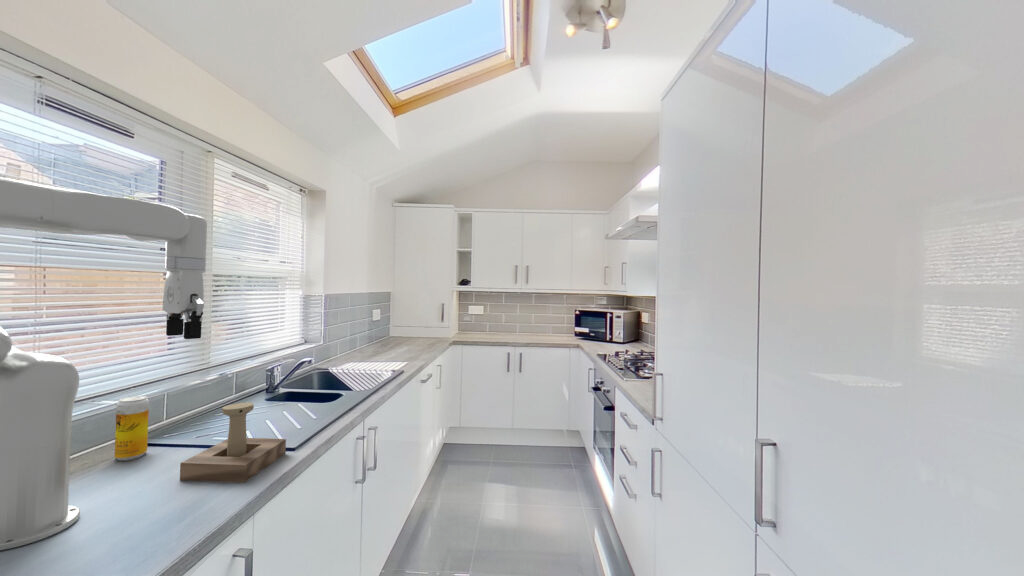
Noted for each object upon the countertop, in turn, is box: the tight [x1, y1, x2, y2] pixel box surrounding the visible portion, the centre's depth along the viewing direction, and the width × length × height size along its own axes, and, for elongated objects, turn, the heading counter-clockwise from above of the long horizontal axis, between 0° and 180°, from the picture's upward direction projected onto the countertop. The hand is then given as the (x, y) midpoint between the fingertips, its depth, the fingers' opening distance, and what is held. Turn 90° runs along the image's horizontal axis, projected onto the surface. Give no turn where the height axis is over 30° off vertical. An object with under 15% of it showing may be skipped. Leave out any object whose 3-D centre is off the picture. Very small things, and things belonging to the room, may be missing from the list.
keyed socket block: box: [179, 437, 287, 483], centre depth 98 cm, size 16×15×4 cm
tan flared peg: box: [221, 402, 255, 457], centre depth 98 cm, size 5×6×15 cm
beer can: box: [114, 395, 150, 461], centre depth 102 cm, size 6×6×15 cm
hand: (183, 336), depth 95 cm, fingers open, 9 cm apart
